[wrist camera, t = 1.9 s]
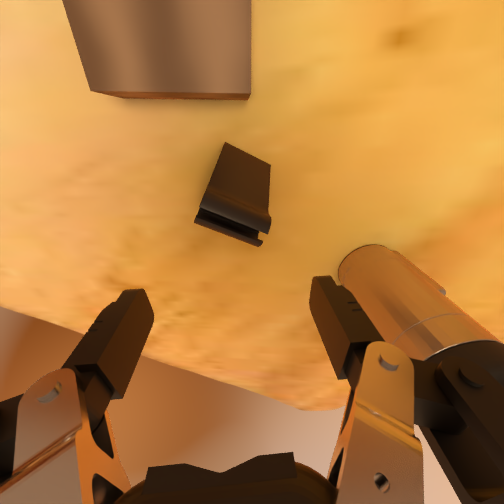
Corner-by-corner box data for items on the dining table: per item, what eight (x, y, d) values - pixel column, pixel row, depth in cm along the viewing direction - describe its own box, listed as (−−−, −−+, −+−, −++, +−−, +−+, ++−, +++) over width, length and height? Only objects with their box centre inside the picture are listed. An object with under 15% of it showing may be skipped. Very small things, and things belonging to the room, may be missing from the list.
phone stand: (225, 141, 25) (217, 154, 14) (270, 164, 26) (292, 191, 16) (200, 209, 29) (181, 256, 18) (241, 225, 30) (243, 277, 20)
